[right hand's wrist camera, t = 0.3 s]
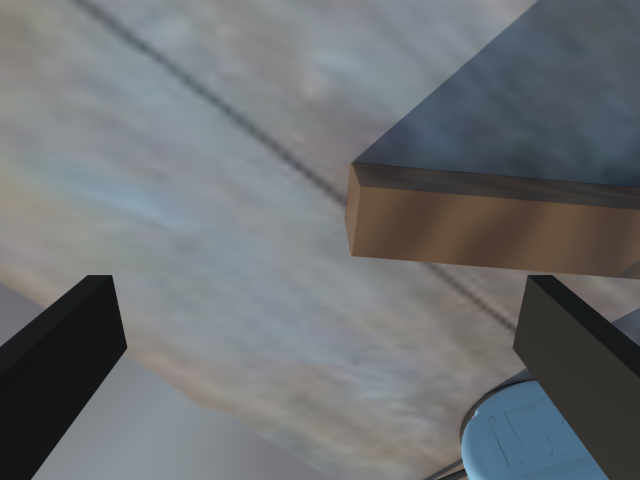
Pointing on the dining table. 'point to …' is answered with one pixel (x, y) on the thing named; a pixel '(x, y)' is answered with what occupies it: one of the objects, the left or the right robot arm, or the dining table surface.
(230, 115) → the dining table surface
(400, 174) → the beam
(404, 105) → the dining table surface
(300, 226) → the dining table surface
